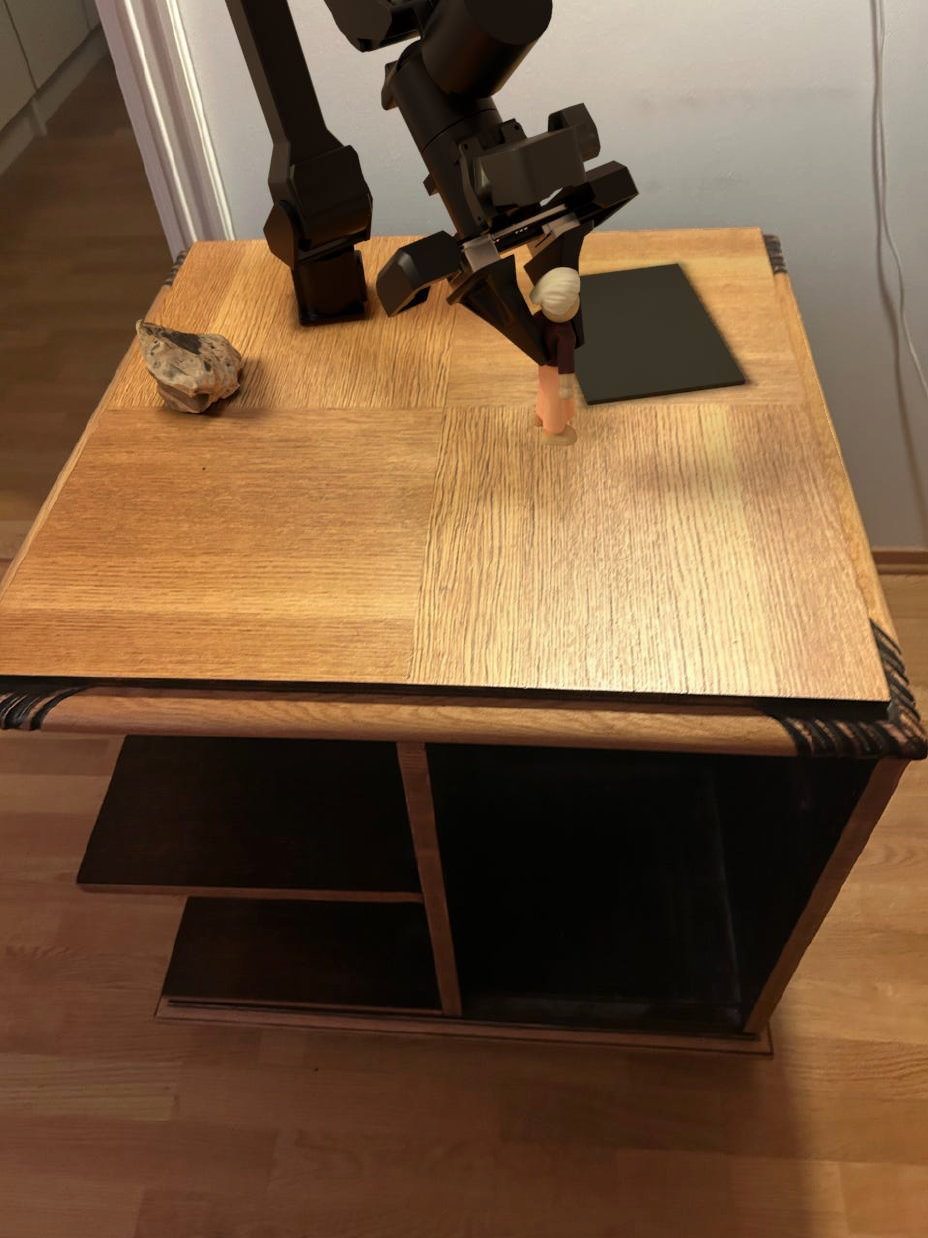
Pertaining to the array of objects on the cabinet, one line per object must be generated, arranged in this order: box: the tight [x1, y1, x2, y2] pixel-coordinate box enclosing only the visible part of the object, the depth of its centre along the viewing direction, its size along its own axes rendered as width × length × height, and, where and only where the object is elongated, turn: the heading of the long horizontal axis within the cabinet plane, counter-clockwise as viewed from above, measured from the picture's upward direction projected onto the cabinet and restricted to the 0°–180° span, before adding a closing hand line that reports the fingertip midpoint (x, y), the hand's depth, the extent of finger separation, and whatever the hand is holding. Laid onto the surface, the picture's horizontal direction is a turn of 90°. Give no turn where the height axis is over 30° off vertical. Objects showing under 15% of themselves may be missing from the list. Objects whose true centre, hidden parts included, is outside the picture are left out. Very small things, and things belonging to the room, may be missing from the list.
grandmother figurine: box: [528, 267, 580, 447], centre depth 64 cm, size 8×4×13 cm, turn 26°
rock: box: [135, 319, 245, 414], centre depth 81 cm, size 9×7×10 cm
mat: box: [574, 263, 746, 406], centre depth 86 cm, size 14×20×1 cm
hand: (562, 355), depth 63 cm, fingers closed on grandmother figurine, 3 cm apart
